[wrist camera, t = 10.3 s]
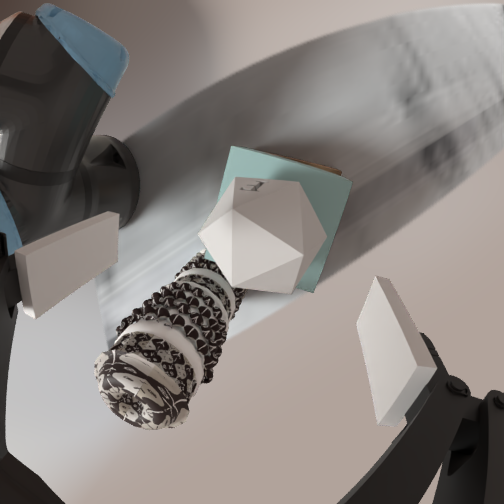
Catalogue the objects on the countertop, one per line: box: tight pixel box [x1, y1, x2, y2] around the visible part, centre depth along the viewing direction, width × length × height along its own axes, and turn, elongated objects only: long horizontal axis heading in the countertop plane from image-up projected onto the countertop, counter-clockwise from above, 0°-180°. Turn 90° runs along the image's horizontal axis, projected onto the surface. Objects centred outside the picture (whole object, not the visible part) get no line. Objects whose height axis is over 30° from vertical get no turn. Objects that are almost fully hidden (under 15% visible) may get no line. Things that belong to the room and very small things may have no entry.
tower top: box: [204, 146, 353, 293], centre depth 28 cm, size 10×10×6 cm
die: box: [198, 177, 327, 294], centre depth 22 cm, size 8×9×10 cm
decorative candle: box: [95, 249, 247, 430], centre depth 29 cm, size 9×9×25 cm
